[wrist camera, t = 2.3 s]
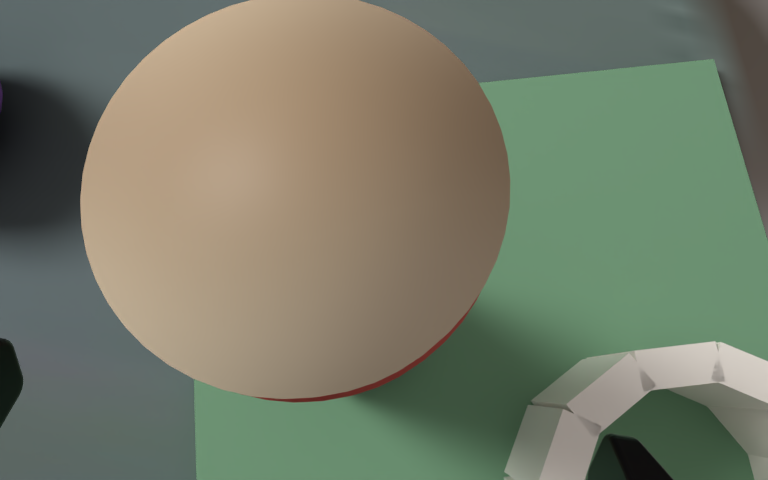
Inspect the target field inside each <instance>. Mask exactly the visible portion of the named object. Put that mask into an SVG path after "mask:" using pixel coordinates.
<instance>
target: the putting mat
mask: <svg viewBox="0 0 768 480" xmlns="http://www.w3.org/2000/svg"><path fill="white" fill-rule="evenodd" d="M479 85H480V86H481V88H482V90H483V92H484V93H485V95H486V97H487V99H488V100H489V102H490V104H491V106H492V108H493V110H494V113H495V115H496V118H497V120H498V123H499V125H500V128H501V131H502V135H503V139H504V142H505V146H506V150H507V154H508V163H509V172H510V208H509V214H508V220H507V225H506V231H505V236H504V239H503V242H502V245H501V248H500V251H499V255H498V258H497V261H496V263H495V265H494V267H493V269H492V271H491V273H490V275H489V277H488V280H487V282H486V284H485V286H484V287H483V289H482V290H481V292H480V294H479V296H478V298H477V300H476V302H475V303H474V305H473V306H472V308H471V310H470V311H469V313H468V314H467V316H466V317H465V319H464V320H463V322H462V323H461V324H460V325H459V326H458V327H457V329H456V330H455V331H454V332H453V333H452V334H451V336H450V337H449V338H448V339H447V340H446V341H445V342H444V343H443V344H442V345H441V346H440V347H439V348H437V349H436V350H435V351H434V352H433V353H432V354H431V355H429V356H428V357H427V358H426V359H425V360H424V361H422V362H421V363H419V364H418V365H416V366H415V367H413V368H412V369H410V370H409V371H407V372H406V373H404V374H403V375H401V376H400V377H398V378H396V379H394V380H392V381H390V382H388V383H386V384H384V385H382V386H380V387H377V388H374V389H371V390H368V391H365V392H362V393H359V394H356V395H352V396H348V397H342V398H337V399H331V400H326V401H316V402H295V403H294V402H283V401H271V400H264V399H260V398H255V397H251V396H247V395H242V394H239V393H235V392H230V391H226V390H222V389H219V388H216V387H214V386H211V385H208V384H206V383H203V382H201V381H198V380H195V379H194V401H195V441H196V480H504V477H508V476H509V475H508V474H506V473H505V472H504V471H505V468H506V465H507V462H508V459H509V457H510V454H511V451H512V448H513V445H514V443H515V440H516V437H517V434H518V431H519V428H520V426H521V423H522V420H523V417H524V414H525V412H526V409H527V406H528V405H534V404H533V403H532V402H531V400H532V399H534V398H535V397H536V396H537V395H538V394H540V393H541V392H542V391H543V390H545V389H546V388H547V387H548V386H550V385H551V384H552V383H553V382H555V381H556V380H557V379H558V378H560V377H561V376H562V375H563V374H564V373H566V372H567V371H568V370H569V369H571V368H572V367H573V366H574V365H576V364H577V363H578V362H579V361H581V360H582V359H586V358H587V357H594V356H601V355H608V354H615V353H621V352H628V351H635V350H644V349H652V348H661V347H670V346H678V345H687V344H696V343H704V342H713V341H715V342H716V343H718V342H722V343H725V344H727V345H730V346H732V347H734V348H737V349H739V350H742V351H744V352H746V353H749V354H751V355H754V356H756V357H759V358H761V359H763V360H766V361H768V239H767V236H766V233H765V229H764V226H763V223H762V219H761V216H760V213H759V209H758V206H757V202H756V199H755V196H754V192H753V189H752V186H751V182H750V179H749V176H748V172H747V169H746V166H745V162H744V159H743V156H742V152H741V149H740V145H739V142H738V139H737V135H736V132H735V129H734V125H733V122H732V119H731V115H730V112H729V109H728V105H727V102H726V99H725V95H724V92H723V88H722V85H721V82H720V78H719V75H718V72H717V68H716V65H715V62H714V59H709V60H700V61H690V62H680V63H670V64H660V65H651V66H641V67H631V68H621V69H611V70H602V71H592V72H582V73H572V74H562V75H553V76H543V77H533V78H523V79H513V80H504V81H494V82H484V83H479ZM609 433H613V434H619V435H626V436H632V437H634V438H636V439H638V440H639V441H640V442H641V443H642V444H643V445H644V446H645V448H646V449H647V450H648V451H649V452H650V453H651V454H652V456H653V457H654V458H655V459H656V460H657V461H658V462H659V463H660V465H661V466H662V467H663V468H664V469H665V470H666V471H667V473H668V474H669V475H670V476H671V477H672V478H673V479H674V480H754V476H753V472H752V468H751V465H750V461H749V457H748V454H747V453H746V452H745V450H744V449H743V448H742V447H741V446H740V445H739V443H738V442H737V441H736V440H735V439H734V437H733V436H732V435H731V434H730V433H729V432H728V430H727V429H726V428H725V427H724V426H723V425H722V423H721V422H720V421H719V420H718V419H717V417H716V416H715V415H714V414H713V413H712V412H711V410H710V409H709V408H708V407H707V406H705V405H703V404H700V403H698V402H696V401H693V400H691V399H689V398H686V397H684V396H682V395H679V394H677V393H675V392H672V391H670V390H668V389H658V390H651V391H650V392H648V393H647V394H646V395H645V396H644V397H643V398H641V399H640V400H639V401H638V402H637V403H635V404H634V405H633V406H632V407H631V408H629V409H628V410H627V411H626V412H625V413H623V414H622V415H621V416H620V417H619V418H618V419H616V420H615V421H614V422H613V423H612V424H610V425H609V426H608V427H607V428H606V429H604V430H603V431H602V432H601V433H600V434H599V437H598V440H597V443H596V446H595V449H594V452H593V456H592V459H591V462H590V465H591V463H592V461H593V459H594V457H595V454H596V452H597V450H598V448H599V446H600V443H601V441H602V439H603V438H604V436H605V435H607V434H609ZM590 465H589V468H590ZM589 468H588V471H587V474H586V477H585V480H588V472H589Z"/></svg>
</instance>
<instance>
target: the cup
mask: <svg viewBox="0 0 768 480" xmlns="http://www.w3.org/2000/svg"><path fill="white" fill-rule="evenodd" d="M658 389H668V390H670V391H672V392H675V393H677V394H679V395H682V396H684V397H686V398H689V399H691V400H693V401H696V402H698V403H700V404H703V405H705V406H707V407H708V408H709V409H710V410H711V412H712V413H713V414H714V415H715V416H716V417H717V419H718V420H719V421H720V422H721V423H722V425H723V426H724V427H725V428H726V429H727V430H728V432H729V433H730V434H731V435H732V436H733V437H734V439H735V440H736V441H737V442H738V443H739V445H740V446H741V447H742V448H743V449H744V450H745V452H746V453H747V454H748V457H749V461H750V465H751V468H752V472H753V476H754V480H768V361H766V360H763V359H761V358H759V357H756V356H754V355H751V354H749V353H746V352H744V351H742V350H739V349H737V348H734V347H732V346H730V345H727V344H725V343H722V342H718V343H716V342H715V341H713V342H704V343H696V344H687V345H678V346H670V347H661V348H652V349H644V350H635V351H628V352H621V353H615V354H608V355H601V356H594V357H587V358H586V359H582V360H581V361H579V362H578V363H577V364H576V365H574V366H573V367H572V368H571V369H569V370H568V371H567V372H566V373H564V374H563V375H562V376H561V377H560V378H558V379H557V380H556V381H555V382H553V383H552V384H551V385H550V386H548V387H547V388H546V389H545V390H543V391H542V392H541V393H540V394H538V395H537V396H536V397H535V398H534V399H532V400H531V402H532V403H533V404H534V405H528V406H527V409H526V412H525V414H524V417H523V420H522V423H521V426H520V428H519V431H518V434H517V437H516V440H515V443H514V445H513V448H512V451H511V454H510V457H509V459H508V462H507V465H506V468H505V471H504V472H505V473H506V474H508V475H509V476H508V477H504V480H585V477H586V474H587V471H588V468H589V465H590V462H591V459H592V456H593V452H594V449H595V446H596V443H597V440H598V437H599V434H600V433H601V432H602V431H603V430H604V429H606V428H607V427H608V426H609V425H610V424H612V423H613V422H614V421H615V420H616V419H618V418H619V417H620V416H621V415H622V414H623V413H625V412H626V411H627V410H628V409H629V408H631V407H632V406H633V405H634V404H635V403H637V402H638V401H639V400H640V399H641V398H643V397H644V396H645V395H646V394H647V393H648V392H650V391H651V390H658Z"/></svg>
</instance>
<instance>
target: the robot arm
mask: <svg viewBox="0 0 768 480" xmlns="http://www.w3.org/2000/svg"><path fill="white" fill-rule="evenodd" d="M22 386H23V375H22V372H21V369H20V366H19V363H18V359H17V356H16V353H15V350H14V347H13V345H12V343H11V342H10V341H9V340H6V339H2V338H0V427H1V426H2V424H3V422H4V421H5V419H6V417H7V415H8V414H9V412H10V410H11V409H12V407H13V405H14V403H15V402H16V400H17V398H18V397H19V395H20V393H21V390H22ZM588 480H674V479H673V478H672V477H671V476H670V475H669V474H668V473H667V471H666V470H665V469H664V468H663V467H662V466H661V465H660V463H659V462H658V461H657V460H656V459H655V458H654V457H653V456H652V454H651V453H650V452H649V451H648V450H647V449H646V448H645V446H644V445H643V444H642V443H641V442H640V441H639V440H638V439H636V438H634V437H632V436H626V435H619V434H613V433H609V434H607V435H605V436H604V438H603V439H602V441H601V443H600V446H599V448H598V450H597V452H596V454H595V457H594V459H593V461H592V463H591V465H590V468H589V472H588Z"/></svg>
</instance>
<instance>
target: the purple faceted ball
mask: <svg viewBox="0 0 768 480" xmlns="http://www.w3.org/2000/svg"><path fill="white" fill-rule="evenodd" d="M2 97H3V92H2V87H1V82H0V113H1V107H2Z"/></svg>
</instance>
